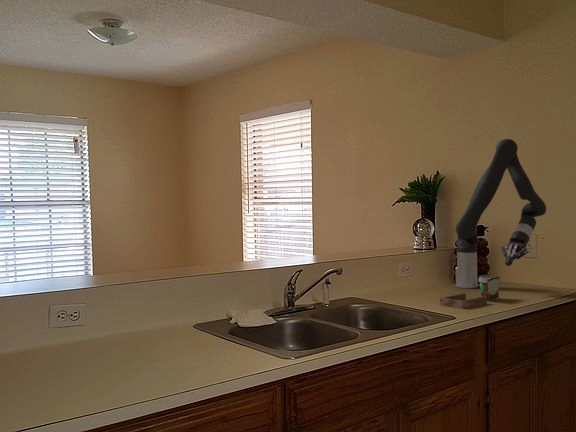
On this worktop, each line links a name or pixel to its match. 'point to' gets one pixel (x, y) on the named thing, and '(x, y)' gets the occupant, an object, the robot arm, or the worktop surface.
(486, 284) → the food container
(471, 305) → the bay
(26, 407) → the worktop surface
